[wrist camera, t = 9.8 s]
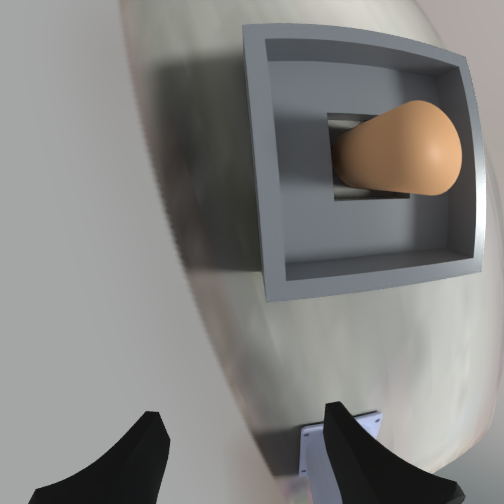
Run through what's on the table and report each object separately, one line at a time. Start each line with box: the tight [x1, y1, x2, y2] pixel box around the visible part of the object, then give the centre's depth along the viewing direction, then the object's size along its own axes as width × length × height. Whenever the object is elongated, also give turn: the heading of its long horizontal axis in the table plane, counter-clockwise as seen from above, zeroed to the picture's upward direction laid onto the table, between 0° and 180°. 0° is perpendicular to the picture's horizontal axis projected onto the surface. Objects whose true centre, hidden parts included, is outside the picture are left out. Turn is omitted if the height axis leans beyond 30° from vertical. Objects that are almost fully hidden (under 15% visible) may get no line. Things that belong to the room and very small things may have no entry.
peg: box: [331, 100, 462, 195], centre depth 13 cm, size 4×4×8 cm
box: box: [242, 23, 486, 302], centre depth 15 cm, size 14×14×5 cm
